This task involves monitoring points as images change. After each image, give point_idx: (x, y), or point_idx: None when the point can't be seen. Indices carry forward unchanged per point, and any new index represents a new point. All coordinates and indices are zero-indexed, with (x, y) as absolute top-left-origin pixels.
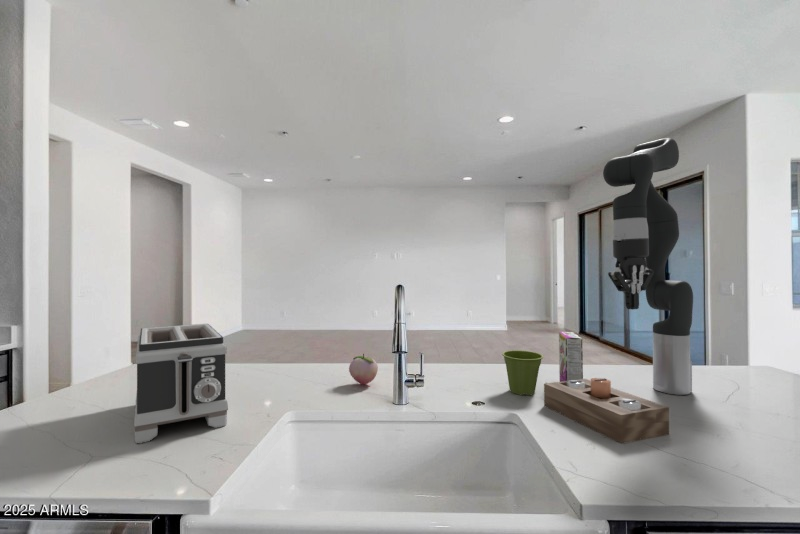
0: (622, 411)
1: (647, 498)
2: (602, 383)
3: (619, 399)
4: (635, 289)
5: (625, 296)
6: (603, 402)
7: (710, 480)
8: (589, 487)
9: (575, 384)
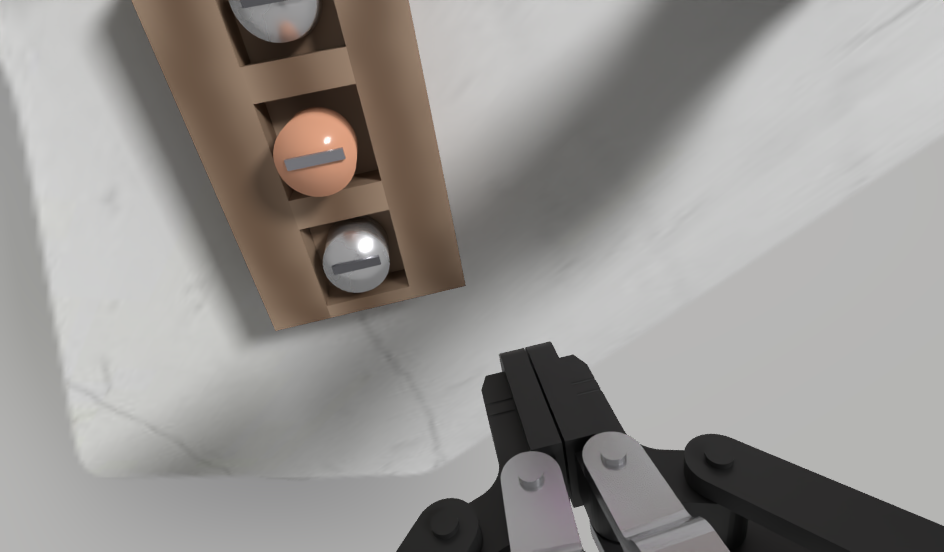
0: (296, 307)
1: (210, 465)
2: (303, 193)
3: (337, 240)
4: (598, 541)
5: (497, 450)
6: (279, 231)
7: (366, 423)
8: (113, 441)
9: (253, 30)
